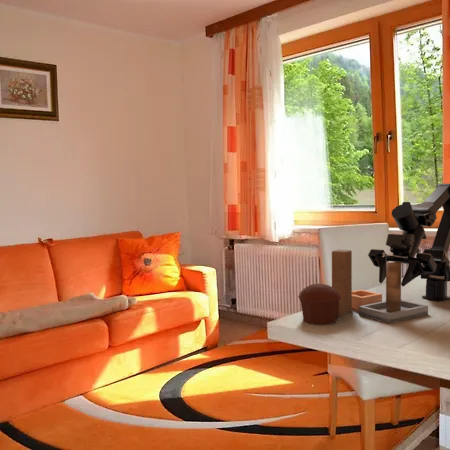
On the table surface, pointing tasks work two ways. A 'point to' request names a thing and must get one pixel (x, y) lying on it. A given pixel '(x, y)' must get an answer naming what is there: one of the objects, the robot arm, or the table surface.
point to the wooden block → (342, 279)
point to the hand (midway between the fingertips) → (391, 283)
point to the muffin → (319, 304)
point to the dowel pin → (393, 286)
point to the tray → (406, 312)
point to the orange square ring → (364, 298)
